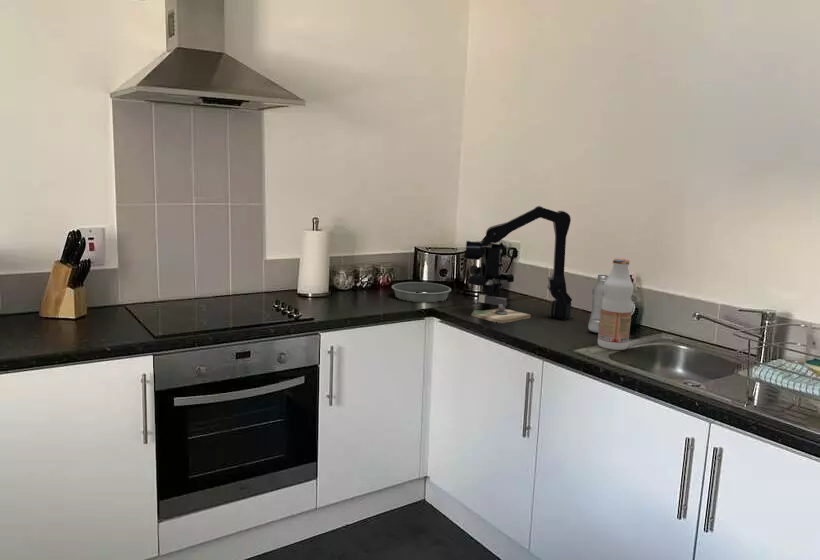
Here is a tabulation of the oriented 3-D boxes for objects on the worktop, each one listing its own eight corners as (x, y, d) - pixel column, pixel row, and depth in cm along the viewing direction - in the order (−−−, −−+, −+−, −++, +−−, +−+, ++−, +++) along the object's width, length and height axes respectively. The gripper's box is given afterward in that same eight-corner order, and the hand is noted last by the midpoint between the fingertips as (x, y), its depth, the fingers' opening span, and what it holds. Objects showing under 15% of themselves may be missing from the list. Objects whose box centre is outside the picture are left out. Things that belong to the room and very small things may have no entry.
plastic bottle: (592, 329, 241) (598, 273, 238) (610, 333, 237) (616, 276, 233) (584, 332, 236) (589, 275, 233) (603, 336, 232) (608, 277, 229)
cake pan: (392, 290, 295) (392, 280, 295) (449, 293, 295) (449, 283, 295) (390, 302, 271) (390, 291, 270) (452, 305, 271) (452, 294, 270)
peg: (506, 310, 253) (507, 298, 253) (503, 311, 251) (504, 299, 251) (480, 305, 259) (481, 294, 258) (477, 306, 257) (478, 295, 256)
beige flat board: (530, 318, 254) (530, 312, 254) (499, 323, 242) (499, 318, 242) (496, 309, 266) (497, 304, 266) (465, 314, 254) (466, 309, 254)
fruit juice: (597, 348, 216) (605, 260, 211) (597, 341, 225) (605, 256, 220) (628, 351, 213) (637, 262, 209) (627, 344, 222) (636, 259, 218)
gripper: (495, 256, 268) (492, 295, 270) (459, 259, 256) (457, 300, 259) (515, 260, 259) (513, 300, 262) (479, 263, 248) (477, 305, 250)
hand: (490, 301), depth 258 cm, fingers closed
